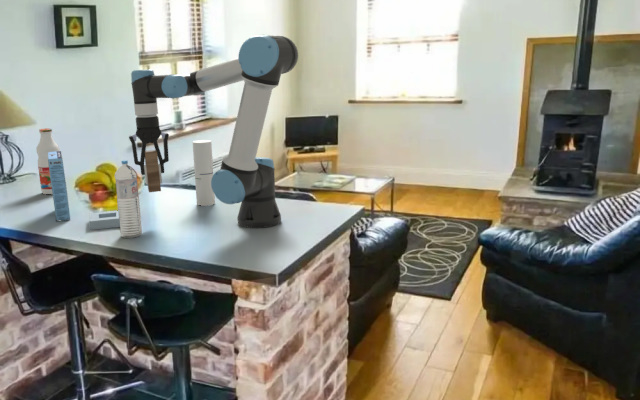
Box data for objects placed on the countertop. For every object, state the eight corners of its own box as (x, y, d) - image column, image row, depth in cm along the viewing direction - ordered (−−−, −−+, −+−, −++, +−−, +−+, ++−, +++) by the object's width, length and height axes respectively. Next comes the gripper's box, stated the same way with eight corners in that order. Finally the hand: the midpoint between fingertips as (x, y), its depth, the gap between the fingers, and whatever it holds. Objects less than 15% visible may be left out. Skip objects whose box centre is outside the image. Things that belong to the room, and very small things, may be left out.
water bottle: (130, 239, 194) (123, 163, 188) (116, 236, 197) (108, 161, 192) (146, 234, 200) (140, 159, 194) (132, 231, 203) (125, 158, 197)
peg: (161, 191, 210) (156, 151, 207) (149, 192, 209) (144, 152, 206) (159, 189, 214) (155, 149, 211) (148, 190, 212) (144, 150, 209)
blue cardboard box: (70, 220, 219) (63, 158, 214) (55, 222, 217) (47, 159, 212) (69, 208, 236) (62, 150, 231) (55, 210, 234) (47, 151, 229)
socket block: (126, 225, 210) (125, 217, 209) (90, 229, 206) (89, 221, 205) (125, 217, 221) (124, 209, 220) (90, 221, 217) (89, 213, 216)
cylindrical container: (213, 206, 236) (209, 142, 230) (195, 206, 236) (190, 142, 230) (216, 201, 243) (212, 139, 237) (199, 201, 243) (194, 140, 237)
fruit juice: (69, 191, 266) (61, 128, 259) (48, 195, 259) (40, 130, 252) (58, 189, 272) (50, 127, 265) (37, 193, 264) (29, 129, 258)
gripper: (171, 113, 212) (177, 178, 217) (120, 116, 206) (127, 183, 211) (173, 115, 205) (179, 182, 210) (121, 118, 199) (128, 187, 204)
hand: (153, 183), depth 211 cm, fingers closed on peg, 4 cm apart
